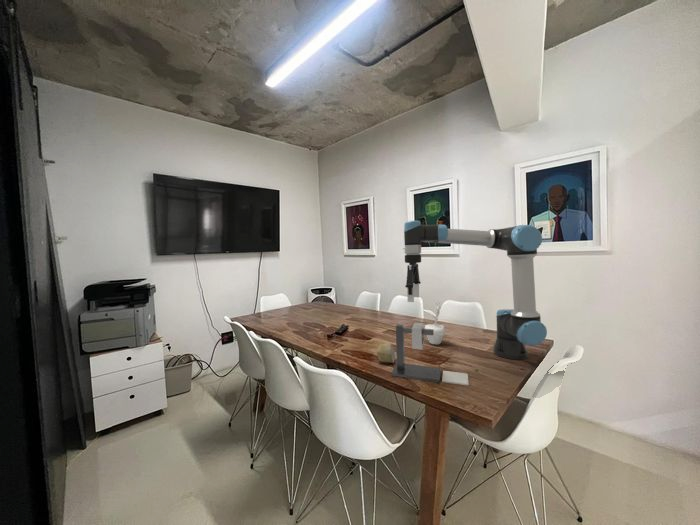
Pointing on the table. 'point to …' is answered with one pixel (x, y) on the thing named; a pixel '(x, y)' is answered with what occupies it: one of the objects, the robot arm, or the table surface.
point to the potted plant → (435, 328)
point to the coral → (386, 353)
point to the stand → (409, 369)
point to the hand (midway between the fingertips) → (413, 299)
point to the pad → (455, 378)
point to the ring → (417, 336)
